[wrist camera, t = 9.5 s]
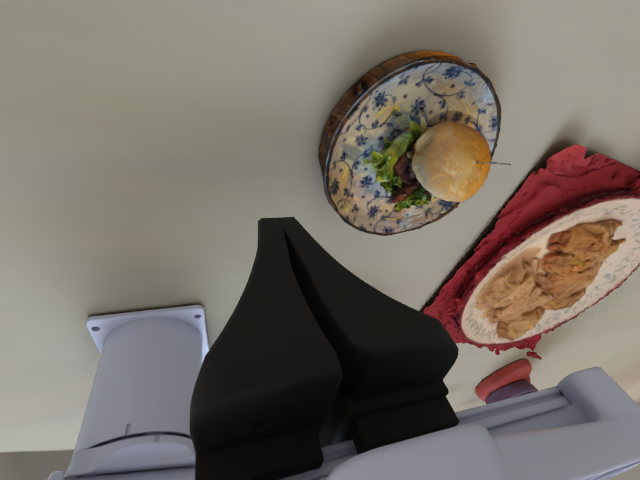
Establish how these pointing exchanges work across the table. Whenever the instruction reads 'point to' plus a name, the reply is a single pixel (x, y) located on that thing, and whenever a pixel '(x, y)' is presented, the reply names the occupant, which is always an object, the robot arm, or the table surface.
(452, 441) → the robot arm
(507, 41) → the table surface
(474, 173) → the burger
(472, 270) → the plate with food
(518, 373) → the stacking bear
